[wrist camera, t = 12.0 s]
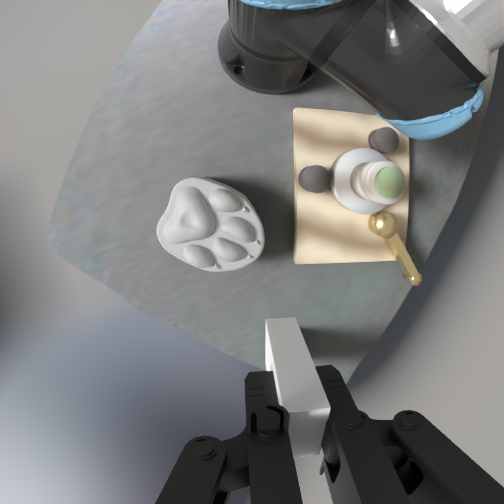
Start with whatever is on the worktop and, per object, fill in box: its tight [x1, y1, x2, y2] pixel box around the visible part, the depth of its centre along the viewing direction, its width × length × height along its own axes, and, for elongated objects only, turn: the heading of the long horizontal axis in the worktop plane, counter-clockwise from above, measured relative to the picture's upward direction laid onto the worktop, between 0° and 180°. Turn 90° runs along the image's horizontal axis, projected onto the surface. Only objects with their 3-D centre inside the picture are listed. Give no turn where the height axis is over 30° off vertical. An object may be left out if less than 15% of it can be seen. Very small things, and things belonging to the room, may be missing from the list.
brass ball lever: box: [368, 211, 422, 286], centre depth 40 cm, size 13×4×3 cm, turn 39°
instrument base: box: [293, 108, 409, 264], centre depth 35 cm, size 22×18×12 cm
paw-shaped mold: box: [157, 177, 265, 272], centre depth 37 cm, size 10×13×9 cm
